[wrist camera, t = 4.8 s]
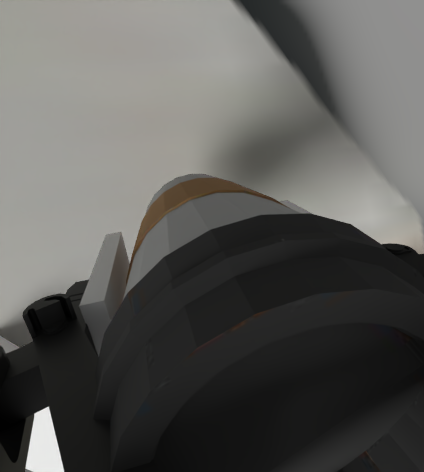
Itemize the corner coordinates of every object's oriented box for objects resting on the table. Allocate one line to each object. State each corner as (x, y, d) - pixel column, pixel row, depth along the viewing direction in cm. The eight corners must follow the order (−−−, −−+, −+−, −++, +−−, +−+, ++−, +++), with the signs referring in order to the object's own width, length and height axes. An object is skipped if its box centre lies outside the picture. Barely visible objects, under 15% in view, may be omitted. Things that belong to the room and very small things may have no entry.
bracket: (-60, 382, 26) (-137, 474, 19) (-6, 329, 26) (-65, 404, 19) (64, 443, 31) (39, 535, 24) (113, 400, 30) (101, 481, 23)
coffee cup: (278, 230, 21) (535, 435, 7) (183, 301, 21) (249, 626, 7) (209, 126, 18) (433, 129, 4) (98, 212, 18) (-61, 498, 4)
